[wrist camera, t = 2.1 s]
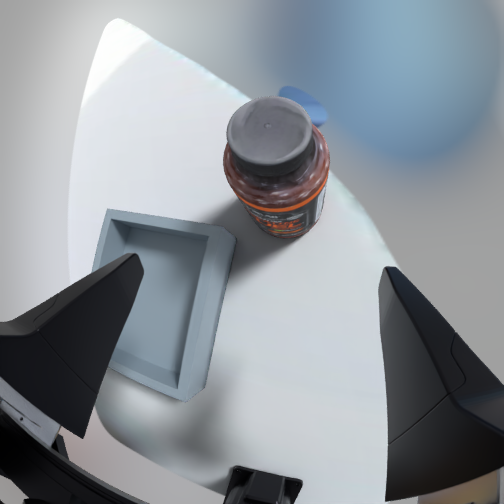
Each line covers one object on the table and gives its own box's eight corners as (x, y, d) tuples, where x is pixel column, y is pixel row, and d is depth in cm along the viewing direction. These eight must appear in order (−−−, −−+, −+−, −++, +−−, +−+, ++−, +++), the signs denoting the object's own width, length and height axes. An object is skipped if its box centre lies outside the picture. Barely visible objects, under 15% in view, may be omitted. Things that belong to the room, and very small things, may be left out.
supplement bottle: (247, 237, 23) (191, 183, 12) (255, 171, 23) (215, 84, 12) (321, 243, 21) (333, 189, 10) (324, 174, 22) (331, 82, 11)
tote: (205, 387, 21) (185, 402, 17) (107, 346, 24) (80, 351, 20) (236, 238, 23) (222, 226, 19) (132, 220, 25) (107, 208, 21)
